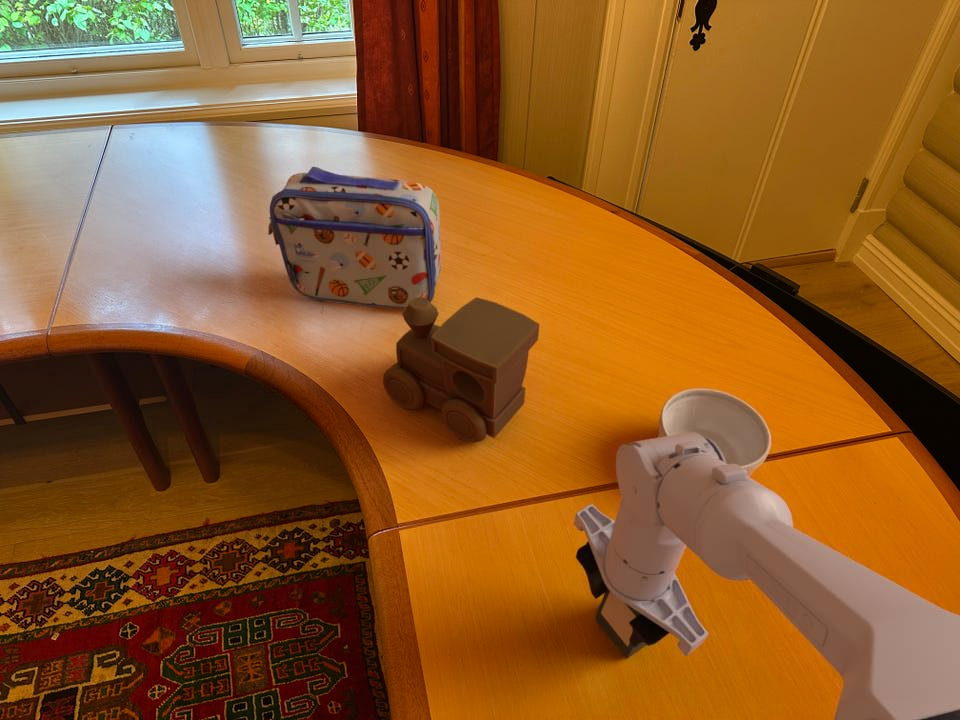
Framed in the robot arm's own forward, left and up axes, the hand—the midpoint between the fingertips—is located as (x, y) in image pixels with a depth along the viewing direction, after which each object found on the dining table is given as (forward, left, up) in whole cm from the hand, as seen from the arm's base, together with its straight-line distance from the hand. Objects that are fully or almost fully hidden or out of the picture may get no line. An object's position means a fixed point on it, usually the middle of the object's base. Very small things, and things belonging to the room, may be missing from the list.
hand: (620, 614), depth 59 cm
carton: (0, -4, -1) cm, 4 cm away
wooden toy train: (+37, -3, -6) cm, 38 cm away
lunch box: (+68, -3, -6) cm, 68 cm away
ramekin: (+11, -25, -6) cm, 28 cm away
